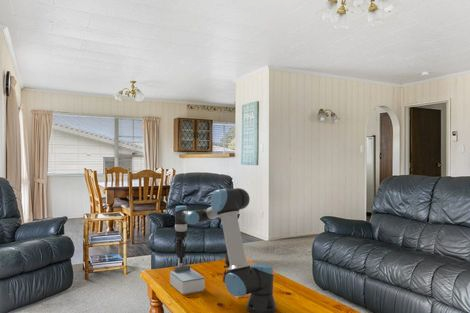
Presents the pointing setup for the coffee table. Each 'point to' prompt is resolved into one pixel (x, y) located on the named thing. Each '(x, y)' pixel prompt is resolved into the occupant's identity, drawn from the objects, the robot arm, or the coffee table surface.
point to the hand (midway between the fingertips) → (180, 267)
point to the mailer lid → (186, 273)
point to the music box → (226, 266)
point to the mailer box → (187, 285)
